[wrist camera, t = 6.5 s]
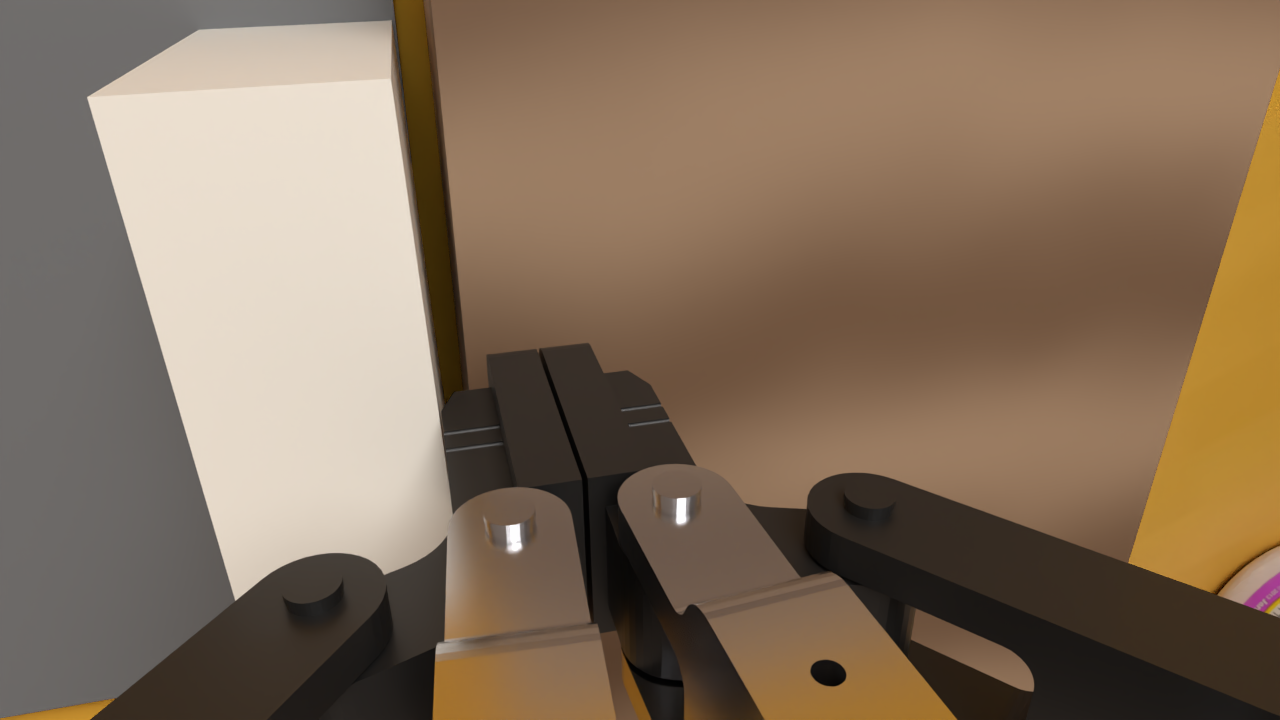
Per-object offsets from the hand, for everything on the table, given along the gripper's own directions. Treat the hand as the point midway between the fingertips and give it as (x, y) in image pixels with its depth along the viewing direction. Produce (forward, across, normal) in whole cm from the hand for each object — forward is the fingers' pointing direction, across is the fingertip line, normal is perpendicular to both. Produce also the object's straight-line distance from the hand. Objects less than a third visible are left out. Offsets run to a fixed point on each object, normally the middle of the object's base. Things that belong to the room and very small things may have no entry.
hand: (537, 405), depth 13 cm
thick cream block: (+2, +3, 0) cm, 3 cm away
